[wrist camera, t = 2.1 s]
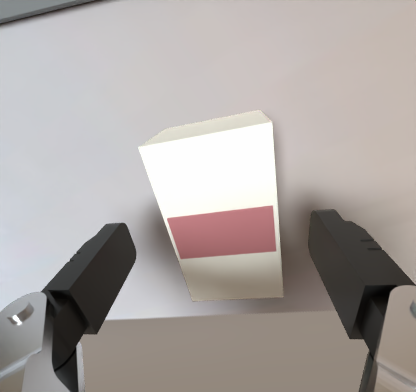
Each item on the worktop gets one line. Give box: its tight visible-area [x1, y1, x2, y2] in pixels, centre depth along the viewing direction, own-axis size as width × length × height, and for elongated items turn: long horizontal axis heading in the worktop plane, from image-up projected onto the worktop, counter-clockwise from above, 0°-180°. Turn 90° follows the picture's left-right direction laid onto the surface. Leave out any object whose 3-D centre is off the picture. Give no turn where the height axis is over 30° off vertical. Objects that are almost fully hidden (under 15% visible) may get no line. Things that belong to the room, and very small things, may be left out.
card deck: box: [138, 110, 284, 301], centre depth 11 cm, size 5×9×4 cm, turn 12°
